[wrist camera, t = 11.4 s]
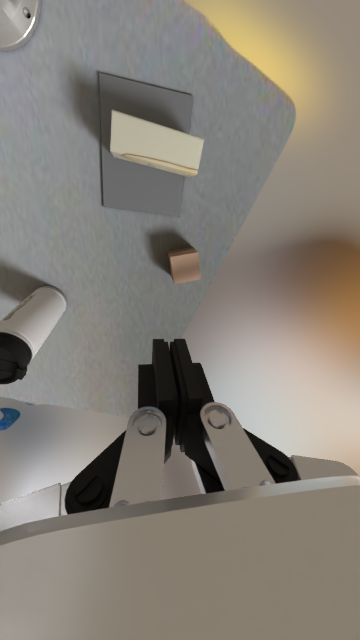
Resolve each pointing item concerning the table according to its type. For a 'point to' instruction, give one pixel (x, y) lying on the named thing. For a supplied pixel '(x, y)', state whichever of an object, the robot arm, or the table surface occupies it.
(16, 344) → the travel mug
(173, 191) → the mat
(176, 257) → the walnut block
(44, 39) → the table surface
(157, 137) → the skincare box
